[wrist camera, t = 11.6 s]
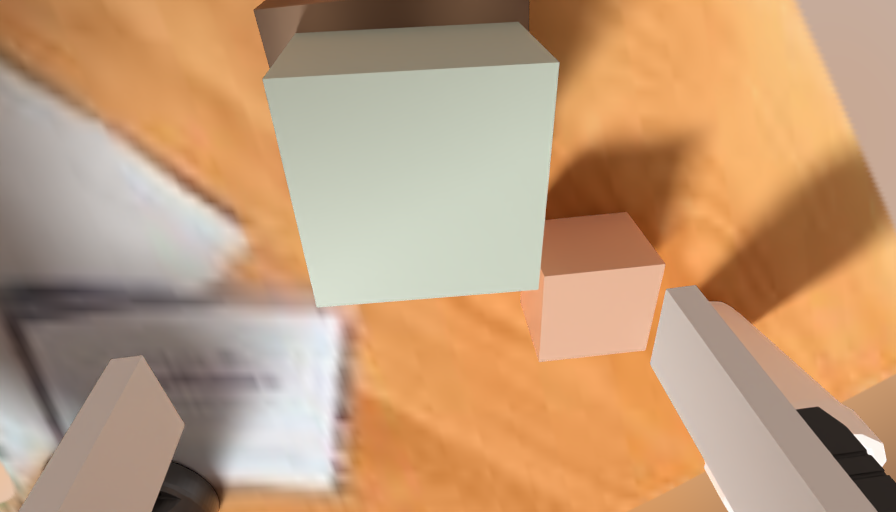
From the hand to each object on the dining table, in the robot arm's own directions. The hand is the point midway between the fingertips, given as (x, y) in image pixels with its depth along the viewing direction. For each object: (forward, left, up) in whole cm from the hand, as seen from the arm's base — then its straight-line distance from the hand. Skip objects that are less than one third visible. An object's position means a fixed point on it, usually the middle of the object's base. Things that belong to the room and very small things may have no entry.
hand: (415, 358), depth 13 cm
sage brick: (+1, 0, -15) cm, 15 cm away
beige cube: (+10, -12, -19) cm, 25 cm away
